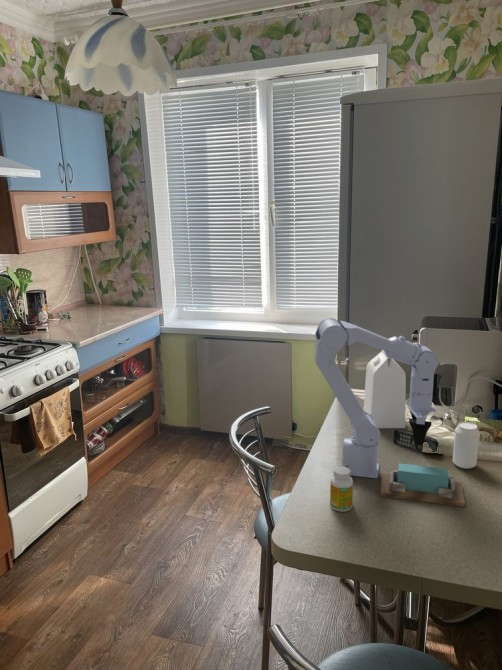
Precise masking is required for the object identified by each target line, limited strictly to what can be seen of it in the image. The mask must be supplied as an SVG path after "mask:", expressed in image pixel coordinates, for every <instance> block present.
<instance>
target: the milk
mask: <svg viewBox="0 0 502 670" xmlns="http://www.w3.org/2000/svg"><path fill="white" fill-rule="evenodd" d="M365 369H366V370H365V381H364V382H365V383H364V384H365V385H364V395H363V396H364V397H363V407H362V408H363V409H364V411H365V412H367V413H369V414H370V415H371V416H372V418H373V421H374V423H375V424H376V426H377V427H378V429H405V428H406V398H407V397H406V393H407V392H406V390H407V389H406V386H407V385H406V382H407V381H406V379H407V378H406V377H407V376H406V372H405V370H404V369H403V368H402V367H401V365H399V363H397V361H396V360H395V359H392V358H389V357H387V356H386V354H385V352H384V350H381V351H380V352H379V353H378V354H376V356H374V357H373V358H371V360H370V361H368V363H367V364H366V368H365Z"/></svg>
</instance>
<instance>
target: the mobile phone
mask: <svg viewBox="0 0 502 670" xmlns="http://www.w3.org/2000/svg"><path fill="white" fill-rule="evenodd" d="M424 442H427V443H428V444H429V448H430V447H431V449H432V450H433V451H432V452H435V451H437V447H438V444H439V441H438V440H437V439H436V438H433V437H431V436H428V435H426V436H425V440H424ZM393 443H394V444H396V445H399V446H402V447H406V448H409V449H412V450H415V451H417V452H420V453H423V452H422V449H423V445H415V444H414V439H413V432H412V430H408V429H405V428H394V429H393ZM438 448H439V447H438Z"/></svg>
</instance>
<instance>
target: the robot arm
mask: <svg viewBox="0 0 502 670" xmlns="http://www.w3.org/2000/svg"><path fill="white" fill-rule="evenodd" d="M314 334H315V335H314V337H315V343H314V356H313V357H314V361H315V362H314V363H316V366H317V368H318V370H319V371H320V373H321V374H322V376H323V378H324V379H325V381H326V383H327V384H328V386H329V388H330V389H331V391H332V393H333V394H334V396H335V398H336V399H337V400H338V402H339V404H340V406H341V407H342V409H343V411H344V412H345V415H347V417H348V418H349V422H350V425H351V428H352V430H353V434H352V435H351V437H347V438H346V437H345V438H344V439H343V443H342V444H343V447H342V458H341V459H342V460H341V465H342V466H344V467H347V468H349V469H350V476H354V477H360V478H361V477H362V478H368V479H369V478H370V479H378V477H379V467H380V464H379V463H378V457H379V455H378V453H379V441H380V439H381V430H380V428H378V427H377V426H376V424H375V423H374V421H373V418H372V416H371V415H370V414H369V413H367V412H365V411H364V409H363V407H362V405H361V404H360V401H359V400H358V398H357V396H356V395H355V393H354V392H353V390H352V389H351V386H350V384H349V383H348V382H347V379H346V378H345V377H344V375H343V373H342V371H341V369H340V368H339V367H338V365H337V363H336V361H335V360H336V358H337V355H338V353H339V351H340V350H341V349H342V348H344V346H345V345H347V346H351V345H353V344H355V343H360V344H363V345H367V346H370V347H372V348H374V349H375V348H376V349H379V350H381V351H382V350H384V352H385V354H386V356H387V357H389V358H392V359H393V360H394V361H396V362H397V361H398V362H401V363H403V364H406V365H409V366H411V374H410V386H409V387H410V388H409V400H408V401H409V403H408V405H407V406H408V407H407V410H409V413H410V416H411V418H408V423H409V425H410V427H411V431H412V432H413V439H414V444H415V445H423V443H424V440H425V436H427V432H428V431H429V430H430V428H431V427H432V425H433V424H432V421H426V420H427V417H428V416H429V415H430V414H431V413H432V412H433V413H436V412H437V407H436V406H432V405H433V393H434V380H435V379H434V378H435V375H434V374H435V370H436V369H437V368H438V366H439V360H438V356H437V355H436V353H435V352H433V351H432V350H431V349H430V348H429V347H427V346H425V345H424V344H421V343H419V342H417V343H413V342H412V341H408V340H406V337H405V336H402V335H399V336H395V335H394V336H392V337H389V338H388V337H384V336H383V335H380V334H377V333H375V332H372V331H370V330H367V329H365V328H362V327H361V326H358V325H356V324H353V323H350V322H347V321H344V320H337V319H336V318H333V317H328V318H327V317H325V318H323V320H321V322H320V323H319V324H318V325H317V328H316V330H315V333H314Z"/></svg>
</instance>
